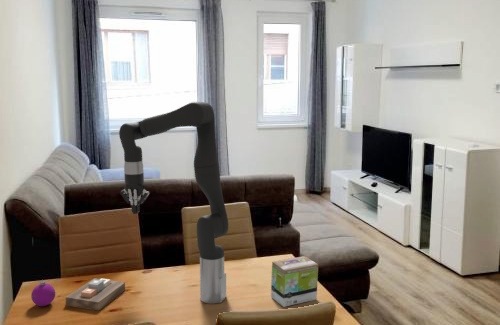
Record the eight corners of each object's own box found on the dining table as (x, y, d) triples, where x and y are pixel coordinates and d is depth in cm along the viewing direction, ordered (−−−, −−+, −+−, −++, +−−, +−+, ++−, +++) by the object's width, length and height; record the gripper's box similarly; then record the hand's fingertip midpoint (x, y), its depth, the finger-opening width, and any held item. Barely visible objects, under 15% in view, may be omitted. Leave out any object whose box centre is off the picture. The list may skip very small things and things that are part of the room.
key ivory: (110, 287, 186) (110, 279, 186) (104, 291, 183) (104, 283, 182) (101, 285, 187) (101, 277, 187) (95, 290, 184) (95, 282, 183)
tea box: (284, 308, 173) (284, 270, 170) (270, 297, 182) (270, 261, 179) (317, 299, 180) (318, 263, 177) (303, 289, 188) (303, 254, 186)
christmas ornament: (34, 301, 178) (32, 276, 176) (57, 298, 180) (55, 274, 178) (30, 311, 170) (28, 285, 168) (54, 308, 172) (52, 282, 170)
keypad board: (125, 289, 188) (124, 282, 187) (98, 310, 171) (98, 302, 170) (94, 285, 192) (94, 278, 191) (66, 305, 174) (65, 297, 174)
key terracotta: (97, 296, 178) (96, 288, 177) (90, 301, 174) (90, 293, 174) (88, 295, 179) (87, 287, 178) (81, 300, 175) (81, 291, 175)
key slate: (103, 288, 182) (103, 280, 181) (97, 292, 178) (97, 284, 178) (94, 287, 183) (94, 279, 182) (88, 291, 179) (88, 283, 179)
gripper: (153, 171, 192) (154, 212, 195) (124, 169, 195) (126, 210, 198) (144, 174, 185) (145, 217, 187) (114, 172, 188) (116, 214, 191)
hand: (135, 213), depth 193 cm, fingers closed
